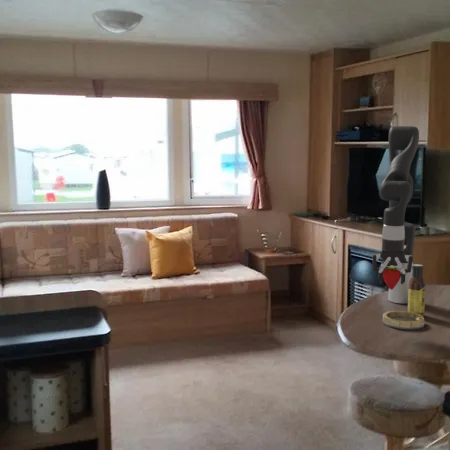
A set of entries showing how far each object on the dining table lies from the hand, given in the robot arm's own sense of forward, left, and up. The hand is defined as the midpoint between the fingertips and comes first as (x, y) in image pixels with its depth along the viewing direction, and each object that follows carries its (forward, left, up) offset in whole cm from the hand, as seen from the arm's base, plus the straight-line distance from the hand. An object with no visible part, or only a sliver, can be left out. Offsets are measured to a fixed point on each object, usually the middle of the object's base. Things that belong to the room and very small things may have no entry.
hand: (391, 283), depth 209 cm
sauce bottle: (-19, +12, -17) cm, 28 cm away
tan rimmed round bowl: (-7, +6, -17) cm, 19 cm away
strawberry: (0, 0, -3) cm, 3 cm away
